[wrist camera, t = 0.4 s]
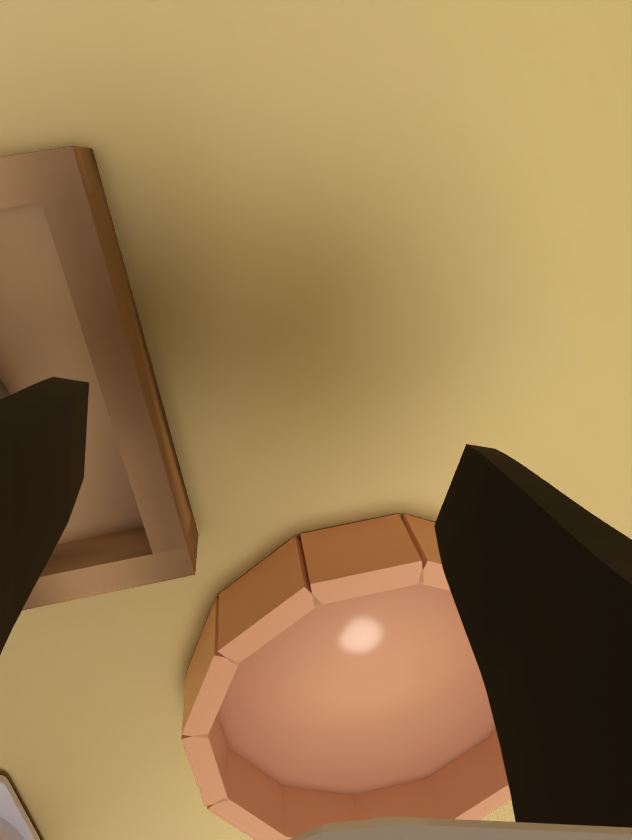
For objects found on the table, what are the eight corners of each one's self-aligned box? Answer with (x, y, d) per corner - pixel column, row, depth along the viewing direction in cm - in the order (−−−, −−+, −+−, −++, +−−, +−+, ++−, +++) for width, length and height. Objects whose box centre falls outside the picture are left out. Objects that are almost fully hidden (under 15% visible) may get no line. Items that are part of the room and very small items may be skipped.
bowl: (233, 820, 30) (234, 890, 27) (151, 564, 24) (140, 620, 21) (538, 749, 31) (569, 808, 28) (539, 484, 25) (581, 527, 22)
